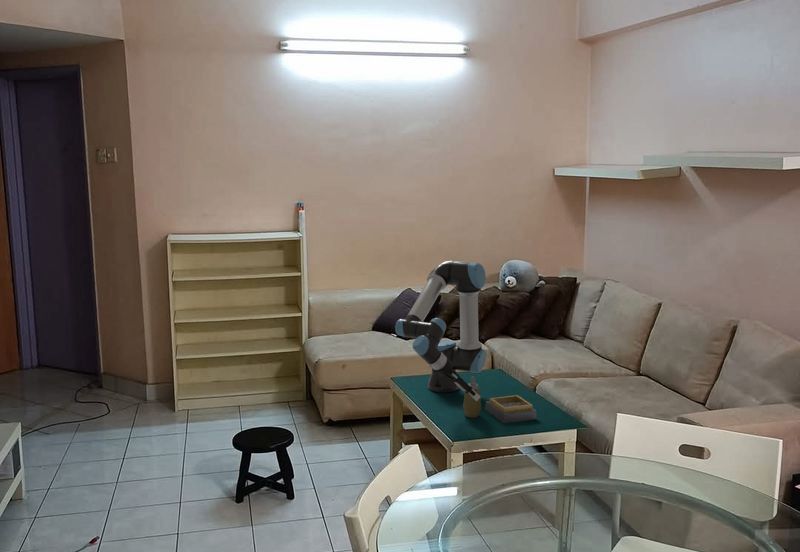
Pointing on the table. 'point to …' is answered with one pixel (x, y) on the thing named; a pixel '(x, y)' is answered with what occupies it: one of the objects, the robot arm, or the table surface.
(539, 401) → the table surface
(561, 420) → the table surface
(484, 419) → the table surface
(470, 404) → the squeeze bottle
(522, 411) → the square gold-rimmed tray
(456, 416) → the table surface
